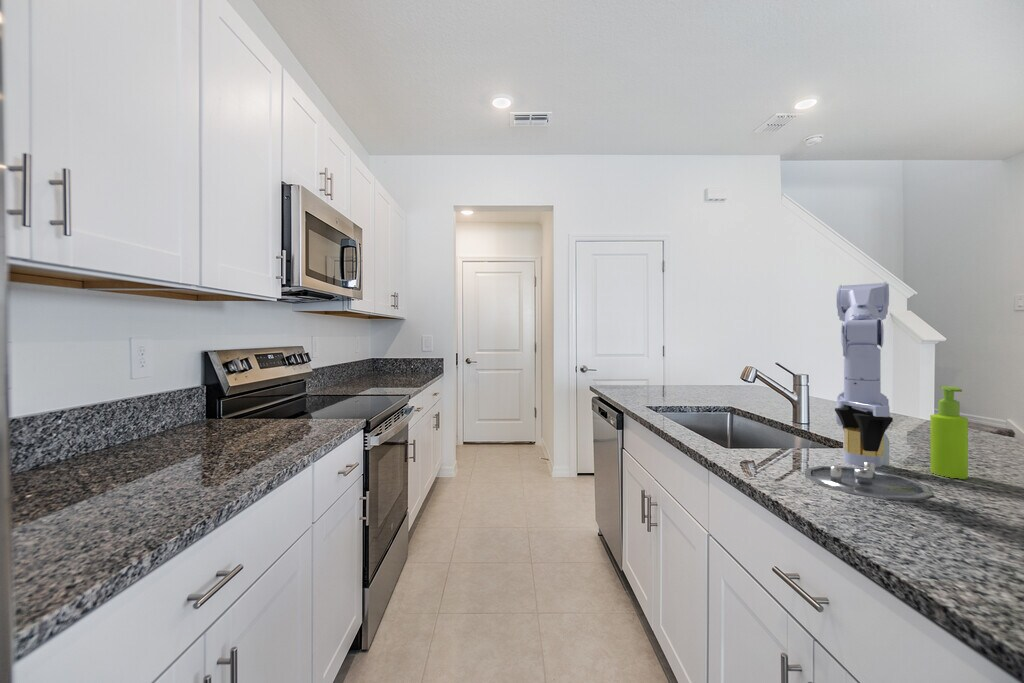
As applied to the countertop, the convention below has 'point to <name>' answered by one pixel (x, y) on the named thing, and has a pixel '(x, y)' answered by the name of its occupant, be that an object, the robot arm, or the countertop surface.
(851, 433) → the gear
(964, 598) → the countertop surface
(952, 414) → the soap dispenser
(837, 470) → the pin
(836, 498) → the countertop surface
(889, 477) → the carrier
